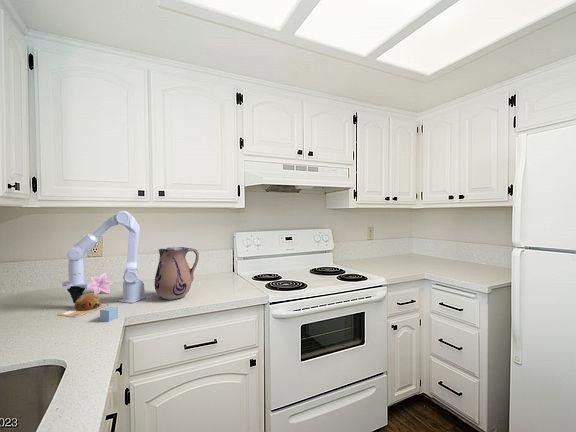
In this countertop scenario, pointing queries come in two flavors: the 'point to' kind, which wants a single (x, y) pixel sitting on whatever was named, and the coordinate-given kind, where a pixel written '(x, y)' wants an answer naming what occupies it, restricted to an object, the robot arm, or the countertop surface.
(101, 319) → the blue cube
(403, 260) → the countertop surface
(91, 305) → the bread roll
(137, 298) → the robot arm
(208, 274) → the countertop surface
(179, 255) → the ceramic pitcher
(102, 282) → the lily
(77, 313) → the envelope
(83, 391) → the countertop surface
